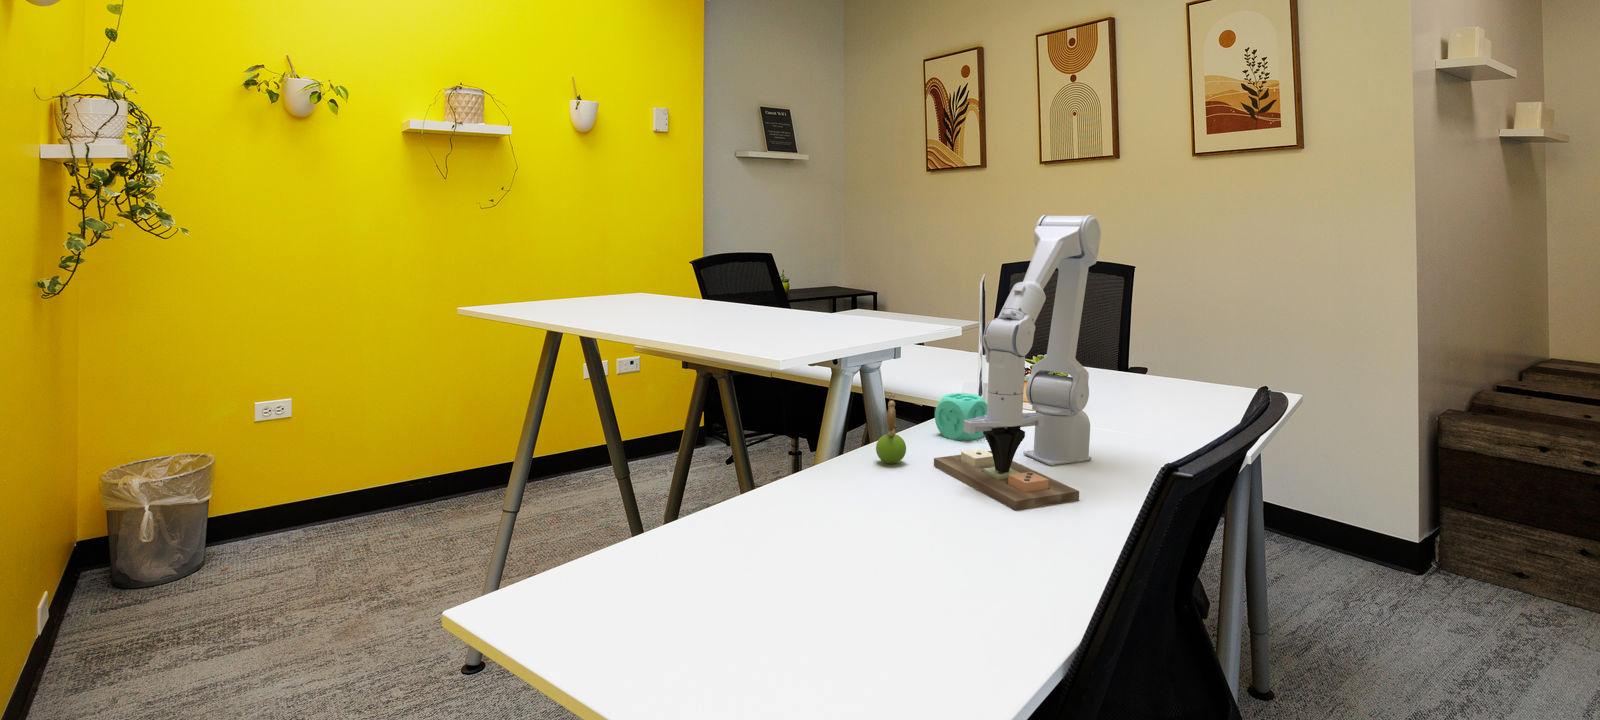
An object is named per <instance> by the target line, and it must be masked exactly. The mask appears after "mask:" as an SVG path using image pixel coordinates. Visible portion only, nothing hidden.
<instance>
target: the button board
mask: <svg viewBox="0 0 1600 720" xmlns="http://www.w3.org/2000/svg"><path fill="white" fill-rule="evenodd" d="M986 451H987V452H990V453H992V452H991V450H986ZM934 466H935V468H936V469H938V470H940V471H942V472H944V473H946V474H947V475H949V476H950V477H951V476H952V477H953V478H955V479H957V480H958V481H961V482H963V483H964V484H966V485H968V486H969V487H972V488H973V489H975V490H976V491H979V492H981V493H983V494H984V495H986V496H987V497H990V498H992V499H994V500H995V501H997V502H999V503H1000V504H1003V505H1004V506H1006V507H1009V508H1010V509H1011V510H1013V511H1020V510H1027V509H1031V508H1033V509H1034V508H1038V507H1039V508H1040V507H1045V506H1051V505H1057V504H1065V503H1071V502H1077V501H1080V490H1078V489H1076V488H1073V487H1071V486H1069V485H1066V484H1065V483H1063V482H1060V481H1058V480H1056V479H1054V478H1051V477H1049V476H1046V475H1045V474H1042V473H1041V472H1038V471H1037V470H1034V469H1031V468H1030V467H1027V466H1025V465H1022V463H1021V464H1020V463H1018V462H1016V461H1015V460H1014V461H1013V460H1012V463H1011V466H1010V468H1011V469H1013V470H1015V471H1018V472H1020V473H1025V472H1033V473H1035V474H1037V475H1040V476H1042V477H1044V478H1046V479H1048V480H1049V482H1048V490H1041V491H1035V492H1028V493H1024V492H1022V491H1020V490H1018V489H1016V488H1014V487H1012V486H1010V485H1008V478H1007V479H1000V480H998V479H996V478H994V477H992V476H990V475H988V474H986V473H984V472H983V470H984V469H985V468H992V467H995V465H991V466H983V467H975V468H974V467H972V466H970V465H968V464H966V463H964V462H962V461H961V454H956V455H955V454H954V455H948V456H939V457H933V467H934Z"/></svg>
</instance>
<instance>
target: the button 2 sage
mask: <svg viewBox="0 0 1600 720" xmlns="http://www.w3.org/2000/svg"><path fill="white" fill-rule="evenodd" d="M983 472H984V473H986V474H988V475H990V476H992V477H994V478H996V479H998V480H1000V479H1007V478H1008V477H1009V475H1011V474H1018V473H1020V472H1018V471H1015V470H1013V469H1011V468H1010V470H1009V472H1006V473H1003V472H999V471H997V470H995V467H992V468H985V469H984V470H983Z"/></svg>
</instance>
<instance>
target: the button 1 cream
mask: <svg viewBox="0 0 1600 720" xmlns="http://www.w3.org/2000/svg"><path fill="white" fill-rule="evenodd" d="M987 451H988V450H985V449H983V448H981V449H973V450H971V449H970V450H966V451H965V450H964V451H960V455H961V461H962V462H964V463H966V464H968V465H970V466H972V467H974V468H975V467H983V466H991V465H995V464H994V459H993V455H992V453H990V452H987Z"/></svg>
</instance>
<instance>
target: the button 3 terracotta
mask: <svg viewBox="0 0 1600 720" xmlns="http://www.w3.org/2000/svg"><path fill="white" fill-rule="evenodd" d="M1048 482H1049V480H1048V479H1046V478H1044V477H1042V476H1040V475H1037V474H1035V473H1033V472H1025V473H1018V474H1011V475H1009V477H1008V485H1010V486H1012V487H1014V488H1016V489H1018V490H1020V491H1022V492H1024V493H1028V492H1035V491H1041V490H1048Z"/></svg>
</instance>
